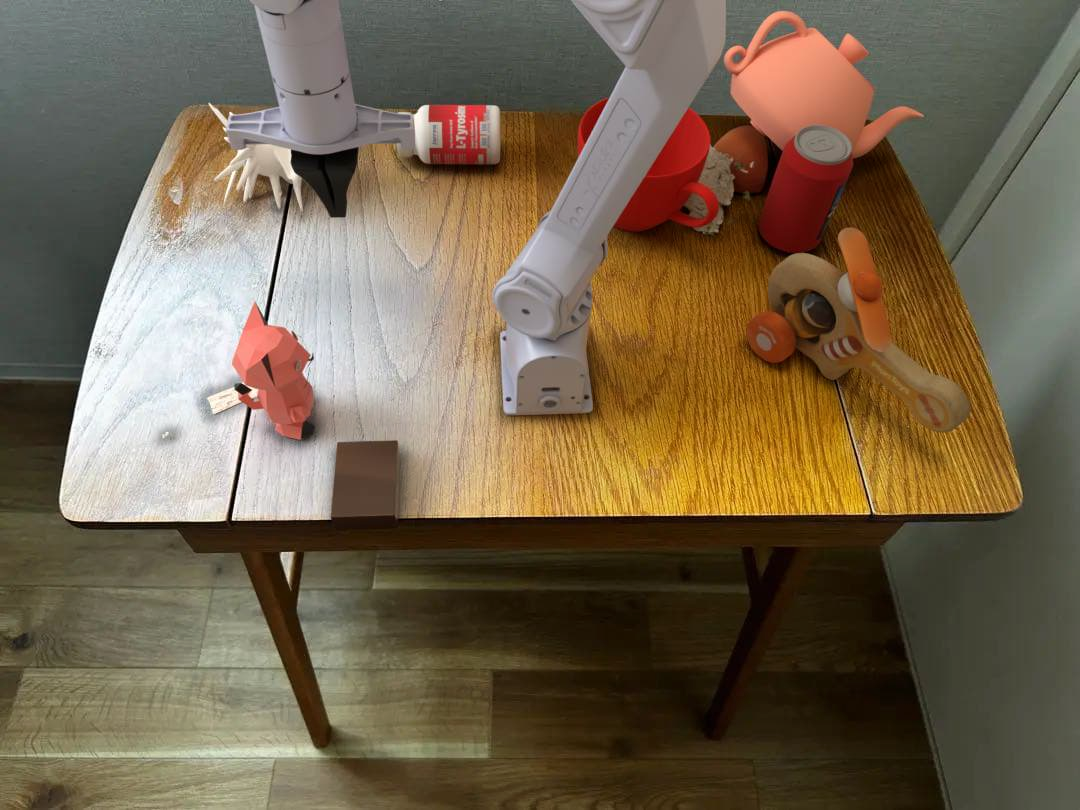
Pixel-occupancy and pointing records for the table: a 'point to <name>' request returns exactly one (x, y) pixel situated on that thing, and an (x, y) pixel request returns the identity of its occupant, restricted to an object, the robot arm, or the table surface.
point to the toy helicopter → (849, 330)
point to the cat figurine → (275, 375)
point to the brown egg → (745, 157)
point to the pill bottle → (456, 134)
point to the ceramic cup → (665, 175)
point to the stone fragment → (715, 189)
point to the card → (226, 400)
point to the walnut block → (366, 485)
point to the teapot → (807, 86)
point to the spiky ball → (260, 167)
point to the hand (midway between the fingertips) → (338, 209)
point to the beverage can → (806, 188)
